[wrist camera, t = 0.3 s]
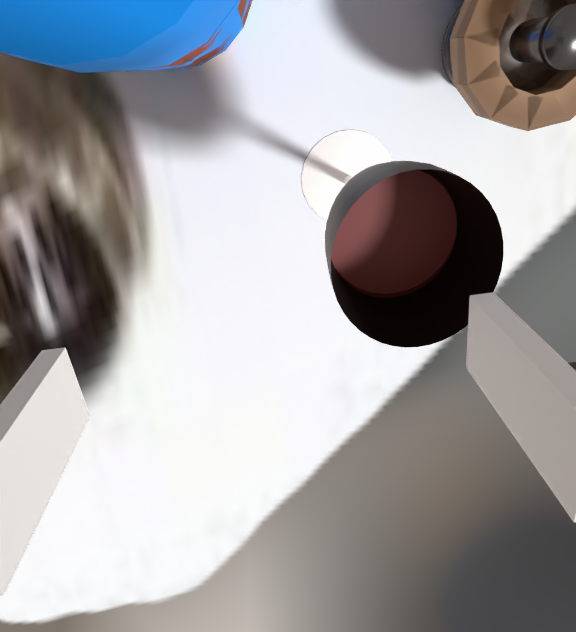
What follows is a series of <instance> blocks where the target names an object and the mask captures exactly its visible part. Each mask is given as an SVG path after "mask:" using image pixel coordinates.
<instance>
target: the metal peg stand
mask: <svg viewBox="0 0 576 632" xmlns="http://www.w3.org/2000/svg"><path fill="white" fill-rule="evenodd" d="M462 5H463V4H462ZM461 7H462V6H461ZM461 7H460V8H459V9H458V10H457V11H456V13H455V14H454V15H453V17H452V19H451V20H450V22H449V24H448V27H447V29H446V32H445V35H444V39H443V45H442V59H443V65H444V68H445V71H446V74H447V76H448V78H449V79H450V81H451V82H452V83H453V75H452V63H451V51H450V36H451V34H452V31H453V28H454V26H455V23H456V21H457V18H458V15H459V13H460V10H461ZM499 55H500V67H501V69H502V70H503V72H504V73H505V75H506V76H507V78H508V79H509V81H510V83H511V84H512V86H513V87H514V88H517V89H520V90H523V91H528V90H532V89H536V88H540V87H542V86H543V85H544V84H545V83H546V82H547V81H548V80H550V79H551V78H552V77H553V76H554V75H555V74H556V73H557V72H559V71H560V70H574V69H576V3H575V4H570V5H568V4H567V2H566V0H519V1H518V2H517V3H516V4H515V5H514V6H513V7H512V8H511V10H510V12H509V15H508V17H507V19H506V22H505V24H504V27H503V29H502V31H501V34H500V36H499ZM454 86H455V85H454Z"/></svg>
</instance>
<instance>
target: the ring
mask: <svg viewBox="0 0 576 632" xmlns="http://www.w3.org/2000/svg"><path fill="white" fill-rule="evenodd" d="M518 1H519V0H464V2H463V5H462V7H461V10H460V13H459V15H458V18H457V21H456V23H455V26H454V28H453V31H452V34H451V36H450V51H451V63H452V75H453V84H454V85H455V87H456V88H457V90H458V91H459V92H460V94H461V95H462V97H463V98H464V99H465V101H466V102H467V104H468V105H469V106H470V108H471V109H472V111H473V112H474V113H475V115H477V116H480V117H483V118H486V119H489V120H492V121H495V122H498V123H501V124H504V125H507V126H510V127H514V128H518V129H522V130H526V131H530V130H534V129H538V128H541V127H545V126H549V125H553V124H557V123H561V122H565V121H569V120H571V119H572V118H573V117H574V116H575V115H576V69H574V70H560V71H559V72H557V73H556V74H555V75H554V76H553V77H552V78H551V79H550V80H548V81H547V82H546V83H545V84H544V85H543V86H542V87H540V88H536V89H532V90H528V91H523V90H520V89H517V88H514V87H513V86H512V84H511V83H510V81H509V79H508V78H507V76H506V75H505V73H504V72H503V70H502V69H501V67H500V55H499V36H500V34H501V31H502V29H503V27H504V24H505V22H506V19H507V17H508V15H509V12H510V10H511V8H512V7H513V6H514V5H515V4H516V3H517V2H518ZM566 2H567V4H568V5H570V4H575V3H576V0H566Z"/></svg>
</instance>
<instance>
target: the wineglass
mask: <svg viewBox="0 0 576 632" xmlns="http://www.w3.org/2000/svg"><path fill="white" fill-rule="evenodd" d="M301 180H302V190H303V193H304V196H305V198H306V200H307V203H308V205H309V206H310V207H311V208H312V209H313V210H314V211H315V213H316V214H317V215H319V216H321V217H322V218H324V219H326V220H327V224H326V231H325V251H326V257H327V263H328V269H329V274H330V279H331V282H332V286H333V289H334V292H335V295H336V298H337V301H338V303H339V305H340V307H341V308H342V310H343V312H344V314H345V315H346V316H347V317H348V319H349V320H350V321H351V323H353V324H354V325H355V326H356V327H357V328H358V329H359V330H360V331H361V332H363V333H364V334H366V335H367V336H369V337H370V338H373V339H375V340H377V341H379V342H381V343H385V344H388V345H392V346H399V347H419V346H425V345H430V344H433V343H436V342H439V341H442V340H444V339H446V338H448V337H450V336H452V335H454V334H456V333H457V332H459V331H460V330H462V329H463V328H464V327H466V326H467V325H468V319H469V298H470V295H477V294H484V293H492V292H493V291H494V289H495V287H496V285H497V282H498V279H499V276H500V272H501V268H502V261H503V238H502V232H501V227H500V224H499V221H498V218H497V215H496V213H495V212H494V210H493V208H492V206H491V204H490V203H489V201H488V200H487V199H486V198H485V196H484V195H483V194H482V193H481V192H480V191H479V190H478V189H477V188H476V187H475V186H473V185H472V184H471V183H469V182H468V181H466V180H464V179H463V178H461V177H459V176H457V175H455V174H453V173H451V172H449V171H447V170H444V169H442V168H439V167H436V166H434V165H431V164H427V163H420V162H413V161H393V162H391V159H390V156H389V153H388V151H387V150H386V149H385V147H384V146H383V145H382V143H381V142H380V141H379V140H378V139H376V138H374V137H373V136H371V135H370V134H368V133H366V132H361V131H357V130H344V131H337V132H335V133H333V134H331V135H329V136H326V137H324V138H323V139H322V140H321V141H320V142H319V143H317V144H316V145H315V146H314V147H313V148H312V150H311V151H310V153H309V155H308V157H307V158H306V160H305V162H304V166H303V171H302V176H301Z"/></svg>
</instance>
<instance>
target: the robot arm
mask: <svg viewBox="0 0 576 632" xmlns="http://www.w3.org/2000/svg"><path fill="white" fill-rule="evenodd" d="M466 368H467V370H468V371H469V372H470V374H471V375H472V377H473V378H474V380H475V381H476V383H477V384H478V385H479V387H480V388H481V390H482V391H483V393H484V394H485V395H486V397H487V398H488V400H489V401H490V403H491V404H492V406H493V407H494V408H495V410H496V411H497V413H498V414H499V416H500V417H501V418H502V420H503V421H504V423H505V424H506V426H507V427H508V428H509V430H510V431H511V433H512V434H513V436H514V437H515V438H516V440H517V441H518V443H519V444H520V445H521V447H522V449H523V450H524V451H525V453H526V454H527V456H528V457H529V458H530V460H531V462H532V463H533V464H534V466H535V467H536V469H537V470H538V472H539V473H540V474H541V476H542V477H543V479H544V480H545V481H546V483H547V484H548V486H549V487H550V489H551V490H552V492H553V493H554V495H555V496H556V497H557V499H558V500H559V502H560V503H561V504H562V506H563V507H564V509H565V510H566V512H567V513H568V515H569V516H570V517H571V519H572V520H573V522H576V362H572V363H567V362H566V361H565V360H564V359H563V358H562V357H561V356H560V355H559V354H558V353H557V352H555V351H554V350H553V349H552V348H551V347H550V346H549V345H548V344H547V343H546V342H545V341H544V340H543V339H542V338H541V337H540V336H539V335H538V334H537V333H535V332H534V331H533V330H532V329H531V328H530V327H529V326H528V325H527V324H526V323H525V322H524V321H523V320H522V319H521V318H519V316H517V315H516V313H514V312H513V311H512V310H511V309H510V308H509V307H508V306H507V305H506V304H505V303H504V302H503V301H502V300H501V299H500V298H499V297H498V296H497V295H496V294H494V293H493V292H492V293H484V294H477V295H470V298H469V319H468V340H467V363H466ZM89 417H90V414H89V411H88V409H87V406H86V403H85V400H84V398H83V395H82V392H81V389H80V386H79V384H78V381H77V378H76V375H75V373H74V370H73V367H72V364H71V362H70V359H69V356H68V353H67V350H66V348H58V349H50V350H42V351H41V352H40V354H39V355H38V356H37V358H36V359H35V360H34V362H33V363H32V364H31V365H30V367H29V368H28V369H27V371H26V372H25V373H24V375H23V376H22V377H21V379H20V380H19V381H18V382H17V384H16V385H15V386H14V388H13V389H12V390H11V392H10V393H9V394H8V396H7V397H6V398H5V399H4V401H3V402H2V403H1V405H0V595H4V594H5V592H6V590H7V588H8V585H9V583H10V581H11V579H12V577H13V575H14V573H15V571H16V569H17V567H18V565H19V563H20V561H21V559H22V556H23V554H24V552H25V550H26V548H27V546H28V544H29V542H30V540H31V538H32V536H33V534H34V532H35V529H36V527H37V525H38V523H39V521H40V519H41V517H42V515H43V513H44V511H45V509H46V507H47V505H48V502H49V500H50V498H51V496H52V494H53V492H54V490H55V488H56V486H57V484H58V482H59V480H60V478H61V476H62V473H63V471H64V469H65V467H66V465H67V463H68V461H69V459H70V457H71V455H72V453H73V451H74V449H75V446H76V444H77V442H78V440H79V438H80V436H81V434H82V432H83V430H84V428H85V426H86V424H87V422H88V419H89Z"/></svg>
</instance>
